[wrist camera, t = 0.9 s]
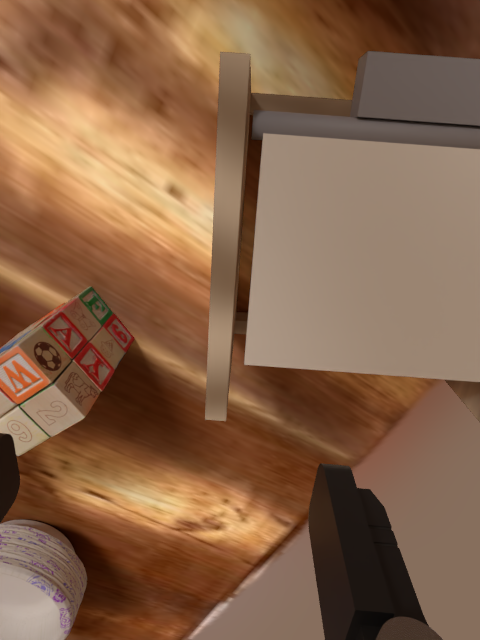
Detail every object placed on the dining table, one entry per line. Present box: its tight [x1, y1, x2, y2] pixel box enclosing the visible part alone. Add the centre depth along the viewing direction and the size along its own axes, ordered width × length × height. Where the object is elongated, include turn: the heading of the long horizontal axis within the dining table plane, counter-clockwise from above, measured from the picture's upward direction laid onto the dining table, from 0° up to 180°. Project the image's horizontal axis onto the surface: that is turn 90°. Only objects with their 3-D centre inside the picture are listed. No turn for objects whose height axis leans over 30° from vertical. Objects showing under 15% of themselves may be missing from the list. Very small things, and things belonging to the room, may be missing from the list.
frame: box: [205, 52, 480, 422], centre depth 26 cm, size 18×18×14 cm
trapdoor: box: [244, 51, 480, 382], centre depth 20 cm, size 15×15×2 cm
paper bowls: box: [0, 520, 87, 640], centre depth 45 cm, size 15×15×8 cm
